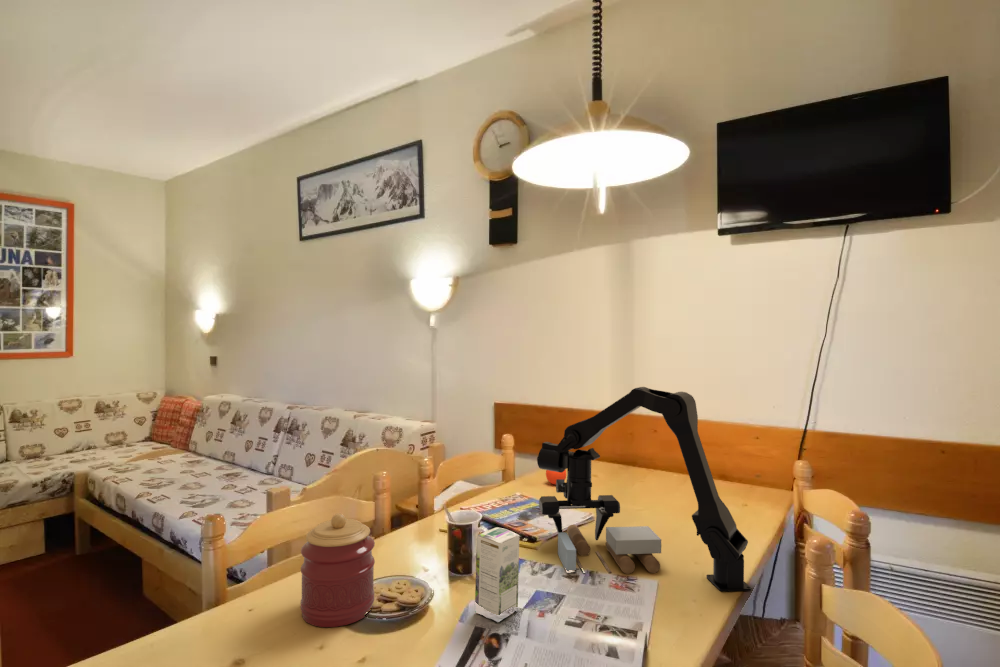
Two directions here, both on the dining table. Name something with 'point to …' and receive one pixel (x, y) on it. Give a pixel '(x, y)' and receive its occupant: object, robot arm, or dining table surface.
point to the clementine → (555, 476)
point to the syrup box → (497, 570)
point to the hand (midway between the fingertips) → (578, 540)
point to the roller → (578, 540)
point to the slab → (633, 540)
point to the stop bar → (566, 551)
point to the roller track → (629, 561)
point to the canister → (337, 573)
